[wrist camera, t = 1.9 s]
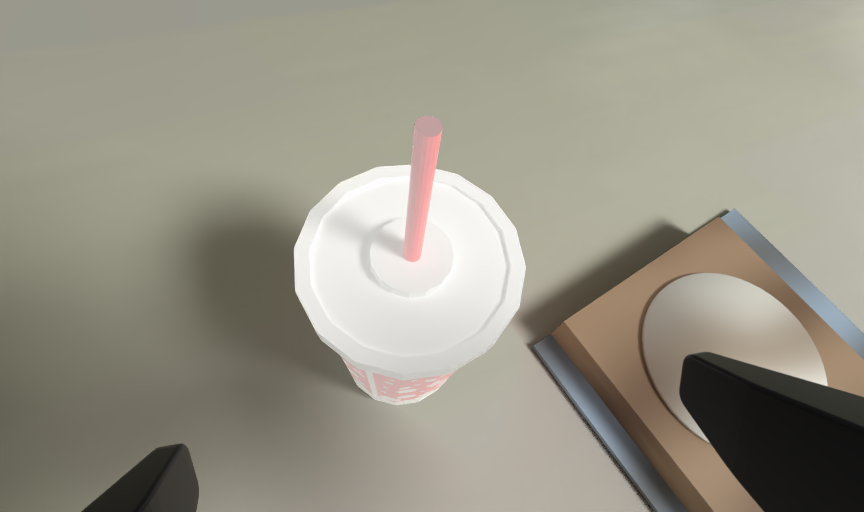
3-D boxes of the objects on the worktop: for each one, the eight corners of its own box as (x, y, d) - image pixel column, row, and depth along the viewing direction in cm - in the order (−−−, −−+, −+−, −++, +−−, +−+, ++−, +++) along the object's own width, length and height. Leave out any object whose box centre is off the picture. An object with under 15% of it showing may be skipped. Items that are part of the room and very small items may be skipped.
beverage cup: (491, 320, 22) (641, 79, 9) (434, 452, 19) (538, 368, 6) (370, 263, 22) (356, -32, 10) (299, 383, 20) (155, 185, 7)
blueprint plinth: (1014, 488, 20) (1082, 487, 18) (829, 746, 16) (892, 781, 14) (731, 211, 26) (759, 187, 24) (531, 347, 21) (547, 332, 19)
